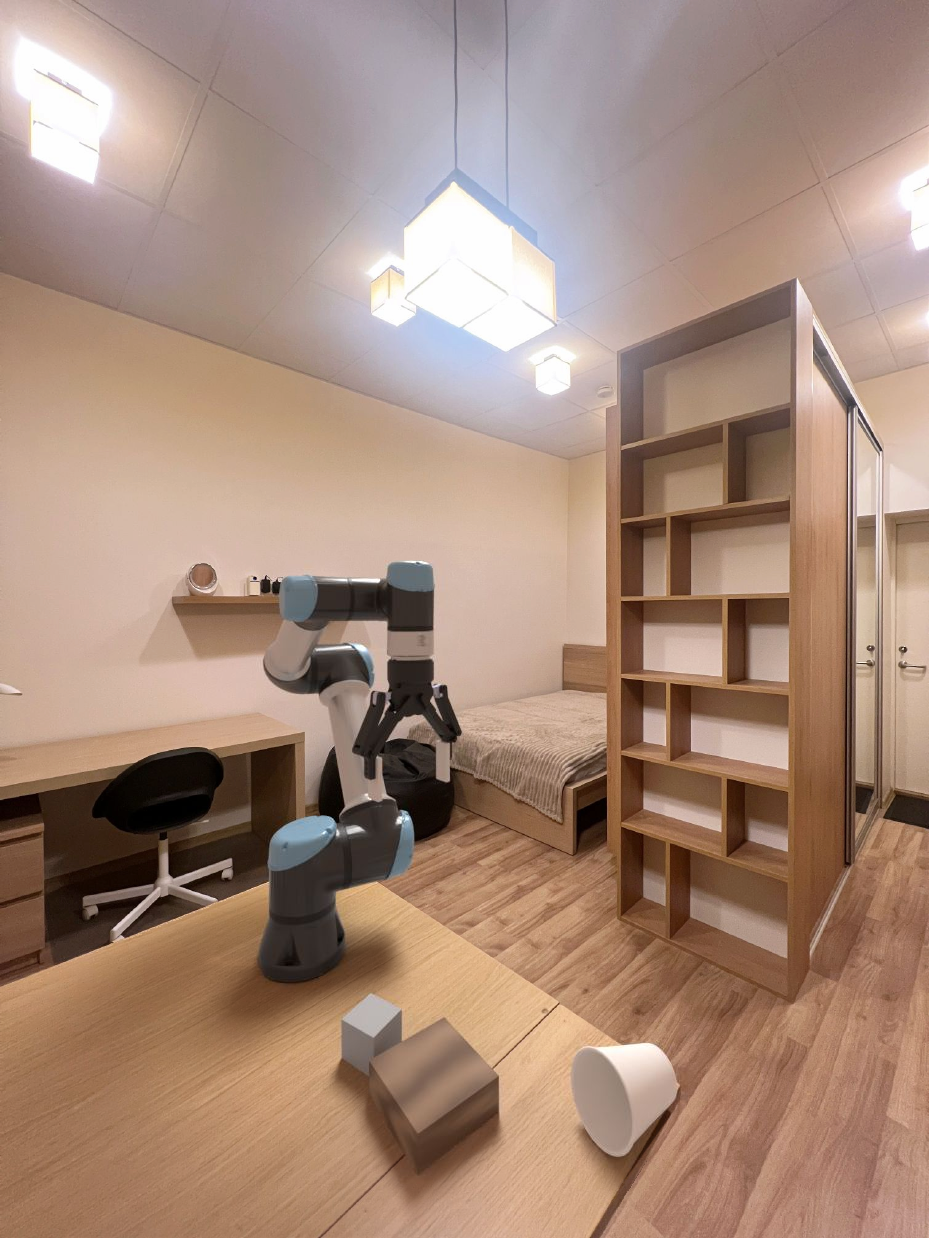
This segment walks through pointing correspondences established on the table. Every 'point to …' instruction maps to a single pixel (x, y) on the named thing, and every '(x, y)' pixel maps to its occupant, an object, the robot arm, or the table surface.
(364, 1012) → the grey cube
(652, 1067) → the cup
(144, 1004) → the table surface
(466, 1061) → the walnut block
